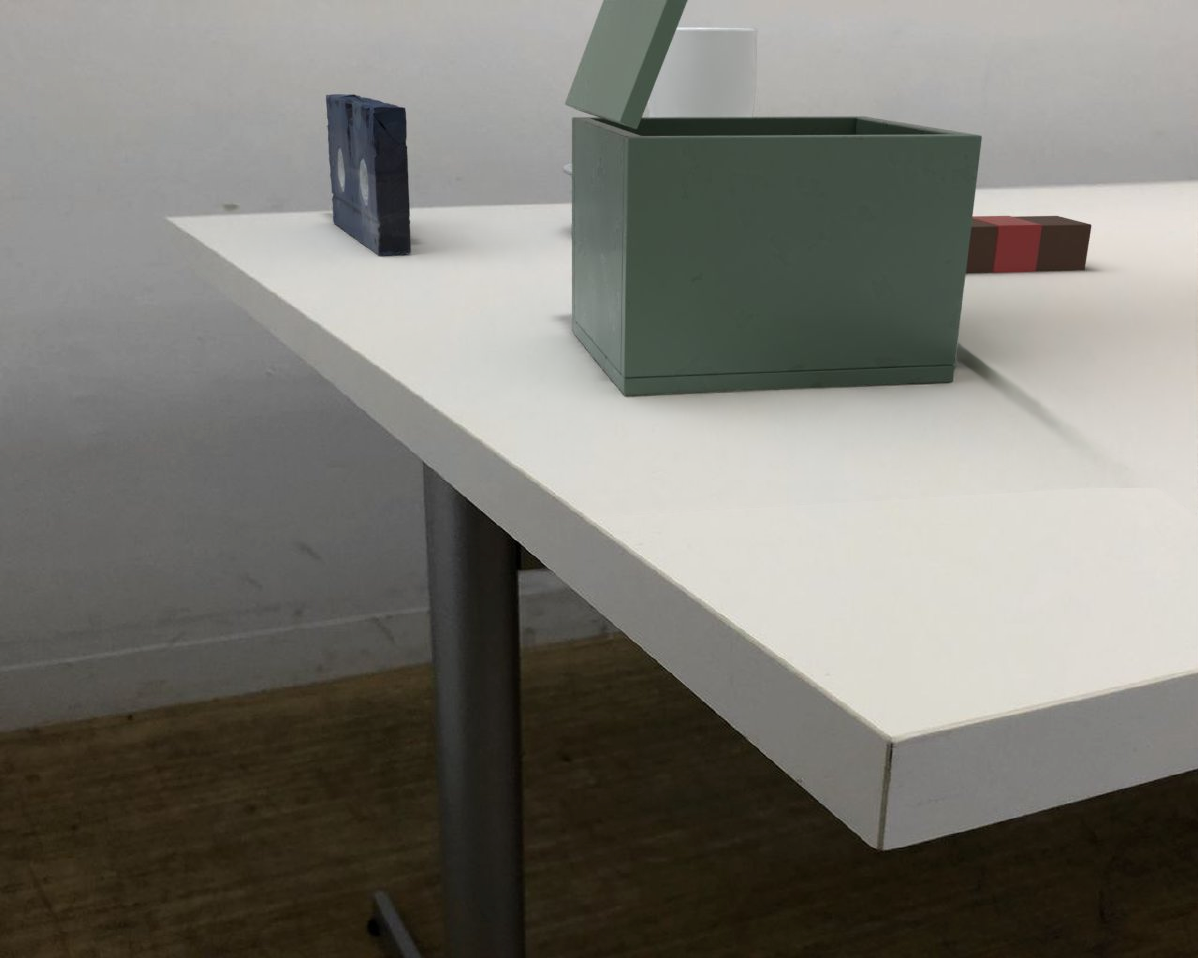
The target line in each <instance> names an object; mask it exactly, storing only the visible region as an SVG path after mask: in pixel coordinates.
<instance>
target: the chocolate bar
mask: <svg viewBox="0 0 1198 958" xmlns="http://www.w3.org/2000/svg"><path fill="white" fill-rule="evenodd" d="M1091 231H1092V224H1091V223H1087V222H1083V221H1079V220H1075V219H1071V218H1067V217H1065V216H1060V215H1027V216H1026V215H1025V216H1022V215H1021V216H1012V215H976V216H975V215H973V216H972V225H971V233H970V242H969V250H968V258H967V267H966V274H1003V273H1004V274H1005V273H1037V272H1038V273H1039V272H1041V273H1042V272H1075V271H1076V272H1077V271H1078V272H1079V271H1080V272H1081V271H1085V270H1086V264H1087V258H1088V252H1089V246H1090V238H1091Z"/></svg>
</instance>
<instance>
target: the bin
mask: <svg viewBox="0 0 1198 958" xmlns="http://www.w3.org/2000/svg"><path fill="white" fill-rule="evenodd" d="M982 139H983V136H982V135H981V134H974V133H967V132H961V131H955V130H950V129H944V128H937V127H932V126H925V125H919V124H914V123H913V124H912V123H908V122H907V123H906V122H901V121H896V120H895V121H894V120H888V119H883V118H875V117H870V116H864V115H861V116H860V115H859V116H857V115H856V116H852V115H850V116H847V115H846V116H845V115H844V116H842V115H841V116H839V115H838V116H836V115H835V116H834V115H833V116H827V115H826V116H825V115H824V116H753V117H648V116H642V118H641V121H640V123H639V126H638V128H637V129H634V128H630V127H627V126H624V125H621V124H618V123H615V122H612V121H609V120H606V119H603V118H600V117H597V116H575V117H574V116H573V117H572V118H571V163H572V177H571V316H572V318H571V332H572V333H573V335H574V336H575V337H576V338H577V339H578V341H580V343H581V344H582V345H583V347H584V348H585V350H587V352H588V353H589V354H590V355H591V356H592V358H593V359H594V360H595V362H597V364H598V365H599V366H600V368H602V371H604V373H606V375H607V376H608V377H609V379H610V380H611V381H612V382H613V383H614V384H615V386H616V387H617V388H618V390H620V392H621V393H622V395H624V396H625V397H626V396H647V395H648V396H650V395H672V394H673V395H674V394H675V395H676V394H696V393H697V394H698V393H699V394H700V393H719V392H720V393H721V392H723V393H724V392H742V391H744V392H745V391H766V390H767V391H768V390H769V391H771V390H790V389H793V390H794V389H813V388H815V389H816V388H841V387H863V386H886V385H911V384H935V383H936V384H937V383H953V382H954V377H955V369H956V368H955V367H956V366H955V365H956V359H957V350H958V341H959V333H960V326H961V318H962V317H961V316H962V309H963V298H964V291H965V283H966V276H967V275H966V267H967V258H968V250H969V242H970V233H971V225H972V216H974V207H975V200H976V199H975V198H976V190H977V182H978V172H979V166H980V165H979V164H980V157H981V149H982Z"/></svg>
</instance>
